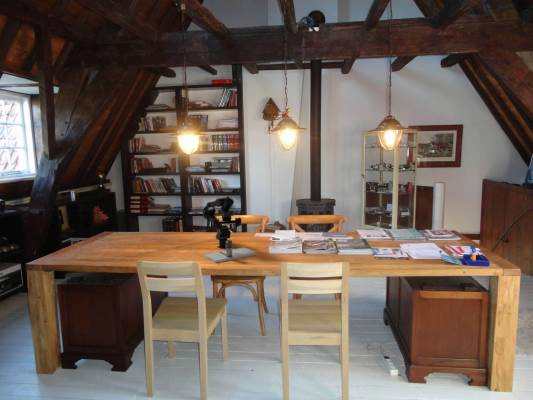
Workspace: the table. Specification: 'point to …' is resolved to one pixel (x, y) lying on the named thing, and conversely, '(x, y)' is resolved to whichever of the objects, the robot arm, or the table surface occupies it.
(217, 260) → the subfloor panel
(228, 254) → the awl peg
